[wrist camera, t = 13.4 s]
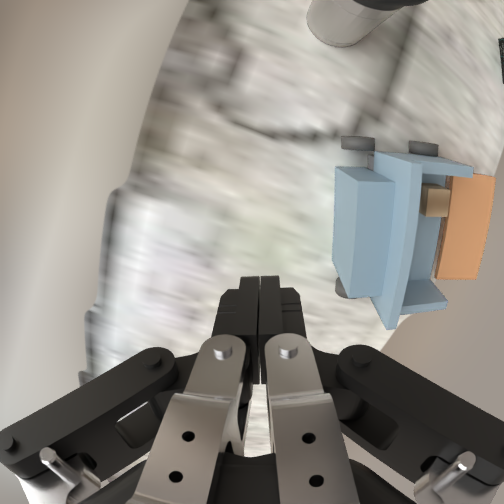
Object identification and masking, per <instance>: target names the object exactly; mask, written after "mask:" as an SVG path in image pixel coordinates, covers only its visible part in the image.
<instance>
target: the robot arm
mask: <svg viewBox="0 0 504 504" xmlns="http://www.w3.org/2000/svg"><path fill="white" fill-rule="evenodd" d="M426 1H428V0H312V2H311V5H310V7H309V10H308V13H307V24H308V26H309V29H310V30H311V32H312V33H313V34H314V35H315V36H316V37H317V38H318V39H319V40H321V41H322V42H324V43H326V44H328V45H332V46H336V47H347V46H351V45H353V44H355V43H357V42H358V41H359V40H361V39H362V38H363V37H364V36H366V35H367V34H368V33H370V32H371V31H372V30H373V29H375V28H376V27H377V26H378V25H380V24H381V23H382V22H384V21H385V20H386V19H387V18H389V17H390V16H391V15H393V14H394V13H395V12H397V11H398V10H399V9H401V8H402V7H403V6H413V5H418V4H422V3H424V2H426ZM260 368H261V384H266V392H267V410H268V422H269V433H270V445H271V454H267V455H262V456H257V457H244V445H245V439H246V433H247V427H248V420H249V414H250V408H251V397H252V390H253V384H260ZM146 401H148V403H147V404H145V405H144V406H142V407H141V408H139V409H138V410H136V411H135V412H133V413H132V414H130V415H128V416H127V417H125V418H124V419H122V420H121V421H119V422H117V421H118V420H119V419H120V418H122V417H123V416H125V415H126V414H128V413H129V412H131V411H133V410H134V409H136V408H137V407H139V406H140V405H142V404H143V403H145V402H146ZM342 433H343V434H345V435H346V436H347V437H349V438H350V439H351V440H353V441H354V442H355V443H357V444H358V445H360V446H361V447H362V448H363V449H365V450H366V451H367V452H369V453H370V454H372V455H373V456H374V457H376V458H377V459H379V460H380V461H381V462H383V463H385V464H386V465H387V466H389V467H390V468H392V469H393V470H395V471H396V472H398V473H399V474H400V475H402V476H404V477H405V478H406V479H408V480H409V481H411V482H413V483H414V484H415V486H414V496H415V499H416V501H417V502H418V503H419V504H490V503H491V501H492V499H493V498H494V496H495V494H496V492H497V490H498V488H499V486H500V485H501V483H502V482H504V422H503V421H501V420H500V419H498V418H496V417H494V416H492V415H490V414H489V413H486V412H485V411H483V410H481V409H480V408H478V407H476V406H474V405H472V404H470V403H469V402H467V401H465V400H463V399H462V398H459V397H458V396H456V395H454V394H452V393H451V392H449V391H447V390H445V389H443V388H442V387H440V386H438V385H437V384H435V383H433V382H431V381H430V380H428V379H426V378H424V377H422V376H421V375H419V374H417V373H416V372H414V371H412V370H410V369H409V368H407V367H405V366H404V365H402V364H400V363H398V362H397V361H395V360H393V359H392V358H390V357H388V356H386V355H385V354H383V353H381V352H380V351H378V350H376V349H374V348H372V347H370V346H366V345H352V346H349V347H346V348H345V349H343V350H342V351H341V352H340V354H339V355H336V354H330V353H325V352H322V351H319V350H317V349H315V348H314V347H313V346H311V344H310V342H309V341H308V340H307V337H306V331H305V324H304V318H303V312H302V306H301V301H300V295H299V294H298V292H297V291H296V290H295V289H294V288H280V281H279V276H261V284H260V278H259V276H252V277H241V279H240V285H239V289H228V290H227V291H226V292H225V293H224V294H223V295H222V296H221V298H220V302H219V307H218V311H217V315H216V319H215V323H214V327H213V332H212V336H211V338H209V339H208V340H206V341H205V342H204V343H203V344H202V346H201V348H200V350H199V352H197V353H195V354H192V355H188V356H183V357H178V358H175V357H174V355H173V353H172V352H171V351H169V350H168V349H165V348H162V347H153V348H148V349H145V350H143V351H141V352H139V353H138V354H136V355H134V356H133V357H131V358H129V359H128V360H126V361H124V362H122V363H121V364H119V365H117V366H116V367H114V368H112V369H111V370H109V371H107V372H105V373H104V374H102V375H100V376H98V377H97V378H95V379H93V380H92V381H90V382H88V383H86V384H85V385H83V386H81V387H79V388H78V389H76V390H74V391H72V392H70V393H69V394H67V395H65V396H63V397H62V398H60V399H58V400H56V401H54V402H53V403H51V404H49V405H47V406H46V407H44V408H42V409H40V410H38V411H36V412H34V413H33V414H31V415H29V416H27V417H26V418H23V419H22V420H20V421H18V422H16V423H14V424H12V425H10V426H8V427H7V428H5V429H3V430H2V431H0V462H1V463H2V464H3V465H5V466H6V467H7V468H8V469H9V470H10V471H12V472H13V473H14V474H15V475H16V476H17V477H18V478H19V480H20V482H21V485H22V487H23V489H24V492H25V494H26V496H27V498H28V500H29V502H30V504H417V503H415V502H414V501H413V500H411V499H410V498H408V497H407V496H405V495H404V494H403V493H401V492H400V491H398V490H397V489H396V488H394V487H393V486H392V485H390V484H389V483H388V482H387V481H385V480H384V479H383V478H381V477H380V476H379V475H377V474H376V473H375V472H374V471H372V470H371V469H369V468H368V467H366V466H365V465H363V464H361V463H359V462H357V461H355V460H352V459H349V458H348V454H347V450H346V447H345V443H344V439H343V436H342ZM150 450H151V451H150ZM149 451H150V453H149V456H148V459H147V460H144V461H142V462H140V463H139V464H137V465H135V466H134V467H133V468H131V469H130V470H128V471H127V472H125V473H124V474H122V475H121V476H120V477H118V478H117V479H115V480H114V481H112V482H111V483H109V484H108V485H106V486H105V487H103V488H101V489H100V487H101V482H102V481H104V480H106V479H107V478H109V477H111V476H112V475H114V474H115V473H117V472H119V471H120V470H122V469H123V468H125V467H126V466H128V465H130V464H131V463H133V462H134V461H136V460H137V459H139V458H140V457H142V456H143V455H145V454H146V453H148V452H149Z"/></svg>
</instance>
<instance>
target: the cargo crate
mask: <svg viewBox="0 0 504 504" xmlns="http://www.w3.org/2000/svg"><path fill="white" fill-rule="evenodd" d="M450 191H451V190H449V189H447V188H445V187H443V186H441V185H439V184H434V183H422V184H421V196H420V206H419V212H420V213H421V214H422V215H424V216H425V217H447V215H448V208H449V200H450Z"/></svg>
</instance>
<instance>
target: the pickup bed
mask: <svg viewBox="0 0 504 504" xmlns="http://www.w3.org/2000/svg"><path fill="white" fill-rule="evenodd" d="M341 147H342V149H348V150H361V151H374V150H375V138H369V137H356V136H341ZM409 152H411V153H415V154H406V153H394V152H378V151H374V155H368V168H365V167H335V205H334V232H333V251H332V261H333V264H334V266H335V268H336V270H337V273H338V275H339V277H338V278H337V280H336V288H335V292H336V293H337V294H338V295H339V296H341V297H343V298H347V299H355V298H362V297H370V298H371V300H372V302H373V304H374V306H375V308H376V310H377V312H378V314H379V316H380V318H381V320H382V322H383V324H384V326H385V328H386V330H391V329H396V327H397V323H398V320H399V316H400V315H404V314H412V313H420V312H428V311H435V310H442V309H446V307H447V303H448V300H447V299H446V298H445V296H444V295H443V294H442V293H441V292H440V291H439V289H438V288H437V287H436V286H435V285H434V283H433V282H432V281H431V280H430V275H431V271H432V266H433V262H434V257H435V252H436V247H437V241H438V235H439V229H440V223H441V217H425V216H424V215H422V214H421V213H420V212H419V206H420V196H421V184H422V183H434V184H439V185H441V186H443V187H445V180H446V175H448V176H458V177H467V178H473V169H474V167H471V166H468V165H465V164H462V163H459V162H456V161H452V160H449V159H445V158H442V157H436V156H438V145H437V144H431V143H425V142H418V141H409ZM417 154H421V155H417ZM427 155H428V156H427Z"/></svg>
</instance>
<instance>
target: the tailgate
mask: <svg viewBox="0 0 504 504" xmlns="http://www.w3.org/2000/svg"><path fill="white" fill-rule="evenodd" d="M495 181H496V178H495V177H492V176H487V175H481V174H475V173H473V178H467V177H458V176H450V184H449V190H451V191H450V200H449V208H448V215H447V217H445V224H444V230H443V236H442V242H441V247H440V252H439V257H438V262H437V266H436V271H435V275H434V276H435V278H436V279H450V280H451V279H452V280H453V279H455V280H457V279H458V280H459V279H460V280H462V279H463V280H476V278H477V274H478V271H479V267H480V263H481V259H482V255H483V251H484V247H485V243H486V238H487V232H488V228H489V223H490V217H491V211H492V204H493V198H494V190H495Z"/></svg>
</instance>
